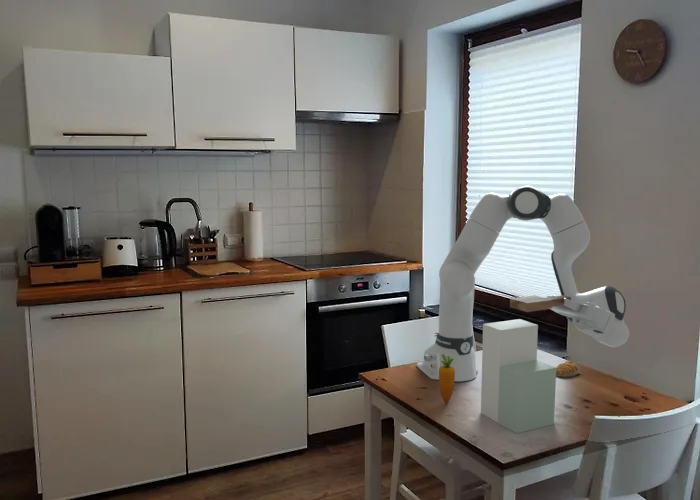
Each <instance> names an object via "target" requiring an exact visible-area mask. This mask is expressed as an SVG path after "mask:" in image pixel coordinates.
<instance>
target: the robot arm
mask: <svg viewBox="0 0 700 500" xmlns="http://www.w3.org/2000/svg"><path fill="white" fill-rule="evenodd" d="M510 219H517V220H520V221H526V222H528V221H532V220H538V219H539V220H541V221H542V222H543V223H544V224H545V226H546V227H547V229H548V232H549V233H550V236H551V238H552V239H551V240H552V242H553V250H552V252H551V255H550V259H551V264H552V267H553V271H554V276H555V278H556V281H557V282H556V283H557V285H558V288H559V292H560V296H562V295H564V296H568V297H571V300H569V299H567V298H563V300H562V304H564V305H559V306H552V309H550V310H551V311H553V312H555V313H557V314H559V315H561V316H565V317H566V319H567V320H568V321H569V322H571V324H572V325H573V326H574V327H575V328H576V329H577V330H579V331H580V332H581V333H584V334H585V335H588V336H591V337H592V338H593V340H595V341H597V342H598V343H601V344H602V345H605V346H607V347H610V348H617V347H621V346H623V345H624V344H626V343H627V341H628V340H629V338H630V330H629V328H628V326H627V324H626V322H625V320H624V316H625V313H626V309H627V308H626V307H627V306H626V300H625V299H626V298H625V297H624V296H623V294H622V293H621V292H620V291H619V290H618V289H617V288H616V287H613V286H612V285H605V286H601V287H598V288H595V289H593V290H590V291H586V292H582V293H580V292H579V291H578V287H577V284H576V281H575V277H574V274H573V270H572V266H573V263H574V261H575V260H576V259H577V258H578V257H579V256H580V255H581V254H583V252H584V251H585V250H586V249H587V248H588V246H589V244H590V241H591V232H590V229H589V226H588V224H587V222H586V219H585V217H584V216H583V214H582V212H581V210H580V209H579V207H578V206H577V204H576V203H575V202H574V200H573V199H572V198H571V197H570V195H568V194H566V193H557V194H553V195H550V196H549V195H547V194H545V192H543V191H541V189H538V188H537V187H534V186H531V185H521V186H519V187H517V188H515V189H514V190H513V191H512V192H510V194H508V195H502V194H499V193H496V192H489V193H486V194H484V196H483V197H482V198H481V199H480V200H479V202H478V203H477V204H476V206H475V207H474V209H473V211H472V212H471V213H470V216H469V217H468V219H467V221H466V223H465V225H464V227H463V228H462V230H461V232H460V234H459V236H458V237H457V240H456V242H455V243H454V244H453V246H452V247H451V249H450V250H449V253H448V255H447V256H446V258H445V259H444V261H443V263H442V264H441V266H440V268H439V271H438V272H439V273H438V277H439V285H440V286H439V310H438V332H435V333H434V337H436V339H435V342H434V343H433V344H431V346H428V348H425V350H424V353H423V360H421V361H418V362H417V363H416V367H417V368H418V369H419V370H420V371H422V373H424V374H425V375H426V376H427V377H428V378H429V379H431V380H437V381H439V368H440V367H441V366H445V365H444V364H443V363H442V362H441V360H442V361H443V360H444V359H443V357H442V354H444V355H445V357H446V359H447V356H450V359H451V358H453V361H452V362H451V364H450V366H451V367H453V368H454V370H455V380H454V382H467V381H471V380H473V379H476V377H477V373H478V372H479V368H478V367H476V366H477V363H476V350H475V348H474V347H473V346H474V340H475V339H474V334H473V310H474V301H475V290H476V289H475V287H476V277H475V274H476V273H477V272H478V269H479V267H480V266H481V265H482V263H483V261H484V260H485V259H486V258H487V256H488V255H489V254H490V252H491V250H492V248H493V246H494V245H495V243H496V241H497V239H498V237H499V235H500V234H501V231H502V230H503V228H504V226H505V224H506V223H507V221H509V220H510ZM554 296H556V295H555V294H552V295H550V294H549V295H547V296H546V297H554ZM443 362H444V361H443ZM447 362H448V359H447ZM444 363H445V362H444Z"/></svg>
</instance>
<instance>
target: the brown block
mask: <svg viewBox="0 0 700 500" xmlns="http://www.w3.org/2000/svg"><path fill="white" fill-rule="evenodd" d="M563 298H567V299H569V300H571V297H568V296H564V295H562V296H561V295H555V296H554V297H547V296H546V297H543V296H538V295H535V294H534V295H527V296H519V297H511V298H509V302H510V303H509V308H512V309H515V310H518V311H522V312H526V313H531V312H537V311H544V310H551V309H552V306H559V305H564V304H562V300H563Z"/></svg>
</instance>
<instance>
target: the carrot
mask: <svg viewBox="0 0 700 500" xmlns="http://www.w3.org/2000/svg"><path fill="white" fill-rule="evenodd" d="M442 357H443V359H444V360H443V361H444V362H445V363H444V362H443V361H442V360H441V362H442V363H443V364H444V365H445V366H441V367H440V368H439V380H438V385H439V391H440V395H441V399H442V401H443V403H444V404H445V405H447V404H448V403H449V402H450V400H451V398H452V395H453V392H454V387H455V381H454V380H455V370H454V368H453V367H451V366H450V364H451V362H452V361H453V358H451V359H450V356H447V359H448V362H447V359H446V357H445V355H444V354H442Z"/></svg>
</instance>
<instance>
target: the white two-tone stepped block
mask: <svg viewBox="0 0 700 500" xmlns="http://www.w3.org/2000/svg"><path fill="white" fill-rule="evenodd" d="M538 330H539V325H538V324H536V323H533V322H530V321H527V320H524V319H521V318H518V319H510V320H504V321H495V322H488V323H483V324H482V356H481V386H480V387H481V389H480V390H481V392H480V395H481V396H480V414H481V415H484V416H486V417H487V418H489V419H490V420H493V421H494V422H496V423H498V424H499V425H502V426H503V427H504V428H506V429H508V430H510V431H512V432H513V433H515V434H520V433H524V432H528V431H533V430H535V429H536V430H537V429H541V428H544V427H549V426H553V425H555V408H556V405H555V404H556V384H557V375H556V367H557V366H554V365H551V364H549V363H546V362H544V361H541V360H539V359H538V360H537V358H538V337H539V336H538V335H539V334H538V332H539V331H538Z"/></svg>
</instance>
